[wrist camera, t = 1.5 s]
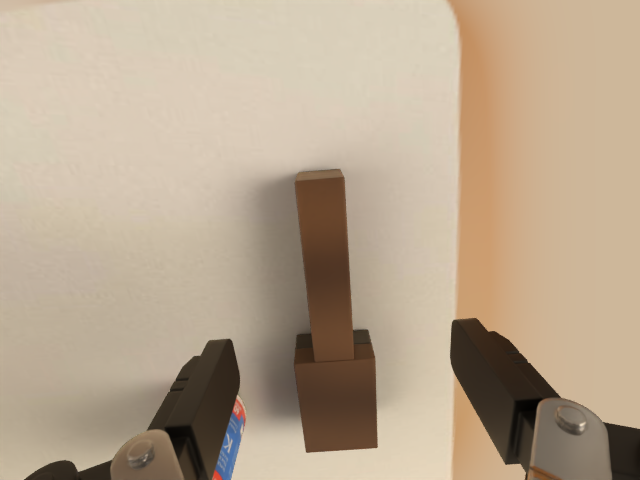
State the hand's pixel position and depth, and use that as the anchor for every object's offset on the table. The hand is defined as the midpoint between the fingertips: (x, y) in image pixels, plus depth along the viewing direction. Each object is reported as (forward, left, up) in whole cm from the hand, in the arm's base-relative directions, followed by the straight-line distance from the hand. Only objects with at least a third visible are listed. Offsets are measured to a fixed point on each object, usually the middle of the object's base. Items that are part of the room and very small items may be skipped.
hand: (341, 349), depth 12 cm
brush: (+3, 0, -7) cm, 8 cm away
